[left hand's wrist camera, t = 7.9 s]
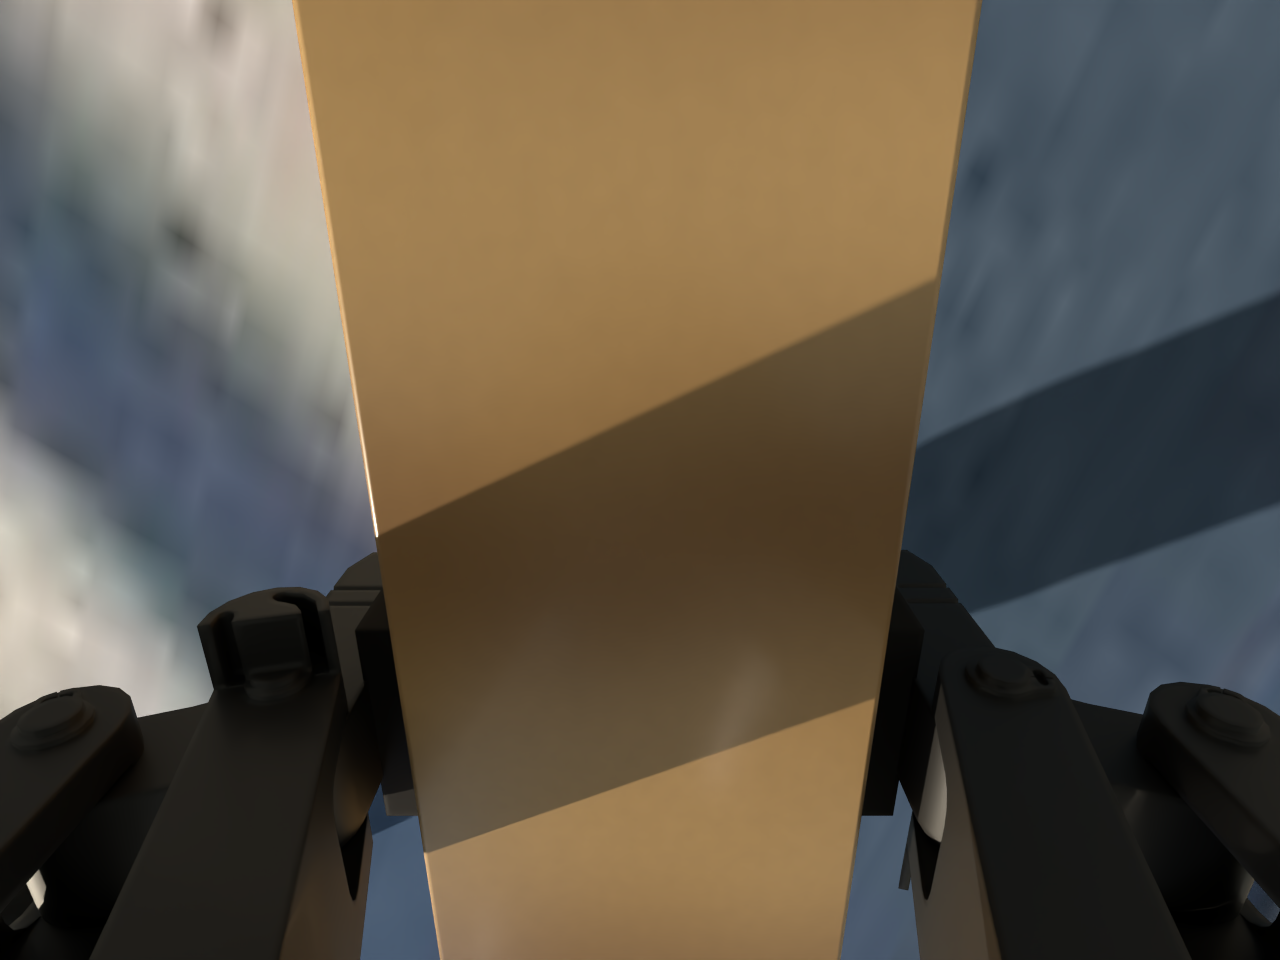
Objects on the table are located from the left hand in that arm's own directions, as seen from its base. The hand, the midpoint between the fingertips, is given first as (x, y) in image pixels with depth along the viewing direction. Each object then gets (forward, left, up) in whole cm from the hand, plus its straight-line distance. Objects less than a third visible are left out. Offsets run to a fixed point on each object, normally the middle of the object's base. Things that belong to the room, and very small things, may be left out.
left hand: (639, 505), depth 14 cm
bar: (+9, +2, -1) cm, 9 cm away
